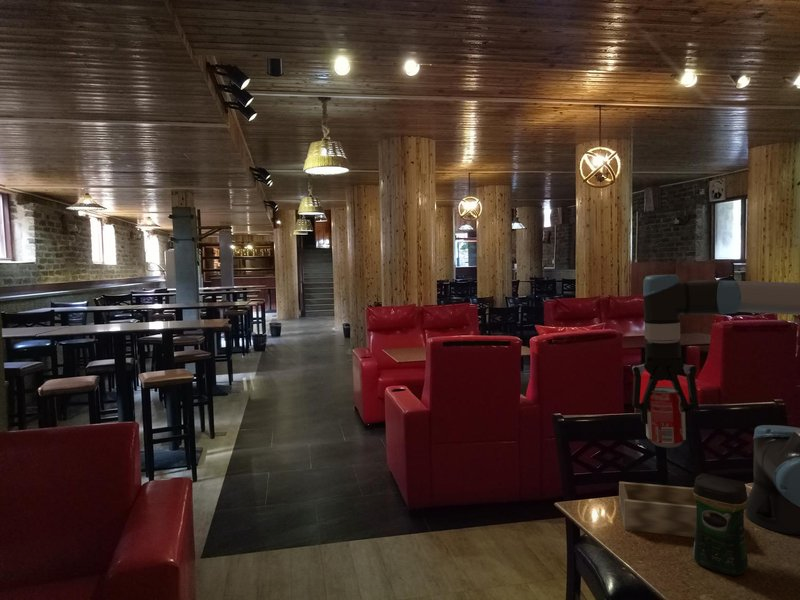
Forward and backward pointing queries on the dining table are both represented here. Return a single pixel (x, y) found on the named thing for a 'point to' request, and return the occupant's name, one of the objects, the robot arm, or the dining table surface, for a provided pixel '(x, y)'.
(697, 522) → the coffee jar
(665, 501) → the crate
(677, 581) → the dining table surface
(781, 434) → the robot arm
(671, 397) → the soda can
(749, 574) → the dining table surface
